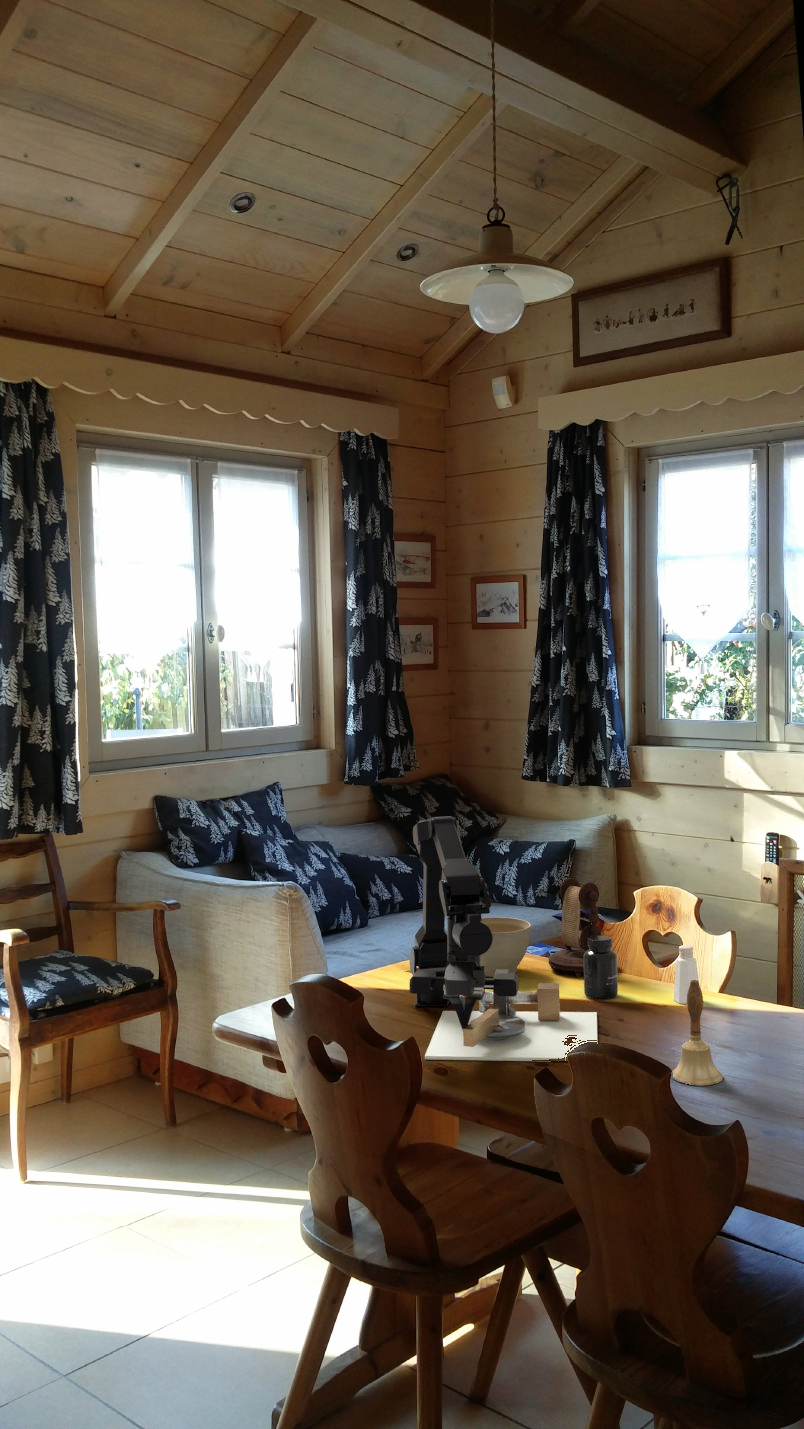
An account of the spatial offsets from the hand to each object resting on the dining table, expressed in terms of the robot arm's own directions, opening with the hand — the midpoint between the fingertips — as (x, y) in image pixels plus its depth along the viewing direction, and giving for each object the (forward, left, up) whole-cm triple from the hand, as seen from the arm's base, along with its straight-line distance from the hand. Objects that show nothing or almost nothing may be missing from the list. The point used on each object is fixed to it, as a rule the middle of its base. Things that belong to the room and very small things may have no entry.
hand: (464, 1032), depth 209 cm
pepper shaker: (+41, +36, -5) cm, 55 cm away
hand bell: (+39, -8, -5) cm, 40 cm away
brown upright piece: (+20, +60, -5) cm, 63 cm away
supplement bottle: (+24, +39, -5) cm, 46 cm away
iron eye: (+5, +21, -4) cm, 22 cm away
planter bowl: (+1, +57, -5) cm, 57 cm away
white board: (+8, +12, -4) cm, 15 cm away
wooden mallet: (+8, +21, -3) cm, 23 cm away
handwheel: (+4, +6, -2) cm, 7 cm away
